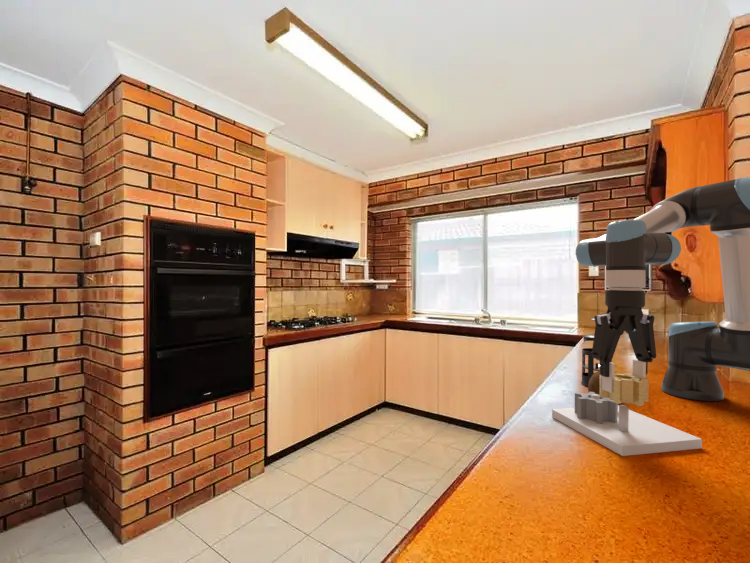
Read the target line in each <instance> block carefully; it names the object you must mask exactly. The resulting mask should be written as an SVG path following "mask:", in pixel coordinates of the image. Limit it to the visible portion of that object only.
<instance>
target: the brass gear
mask: <svg viewBox="0 0 750 563" xmlns="http://www.w3.org/2000/svg"><path fill="white" fill-rule="evenodd" d="M600 397H601V398H609V399H612V400H613V403H618V405H619V404H620V405H621V404H622V403H624V404H633V405H636V406H639V407H640V406H641V407H642V406H644V405H645V403H646V402H647V403H649V378H647V377H646V378H640V377H636V376H633V373H628V372H625V373H618V372H617V373H615V379H614V393H611V392H608V391H605V390H602V376H601V375H600Z"/></svg>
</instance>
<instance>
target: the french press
mask: <svg viewBox="0 0 750 563" xmlns="http://www.w3.org/2000/svg"><path fill="white" fill-rule="evenodd" d="M589 320H590V321H595V317H594V318H590V319H589ZM594 334H595V333H594ZM594 334H592V333H591V334H589V333H588V334H582V335H581V337H582V338H583V342H584V343H585V342H589V341H590V342H591V341H592V342H593V341H594ZM592 348H593V347H592ZM592 348H591V347H590V348H588V347H585V348H582V349H581V354H582V359H581V362H582V363H581V365H582V366H581V381H580V383H581V385H582V386H584V387H587V388H588V384H589V380H590V378H591V377H592V375H593V374H594V373H595V372H598V371H600V364H599V363H598V360H597V359H595V358H592ZM586 356H587V363H586ZM594 359H595V360H594ZM594 361H595V363H594ZM611 362H612V363H613V360H612V361H611ZM586 370H587V372H586Z"/></svg>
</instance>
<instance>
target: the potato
mask: <svg viewBox="0 0 750 563" xmlns="http://www.w3.org/2000/svg"><path fill="white" fill-rule="evenodd" d="M587 391H588V392H587V393H589V392H594V393H595V394H599V395H600V371H595V372H594V374H593V375H592V377H591V378H590V380H589V384H588V387H587Z"/></svg>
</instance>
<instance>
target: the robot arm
mask: <svg viewBox="0 0 750 563" xmlns="http://www.w3.org/2000/svg"><path fill="white" fill-rule="evenodd" d="M704 226H709V227H710V228H709V230H710V233H712V234H714V236H716V237H717V238H718V240H717V241H718V248H719V259H720V260H719V261H720V271H721V281H722V292H723V294H722V295H723V306H724V315H725V316H724V317H725V318H724V319H723V320H722V321H720V322H719V324H718V323H717V322H716V321H681V322H673V323H671V324H670V325H669V326H668V335H667V337H668V346H667V347H668V350H667V352H668V353H667V354H668V365H667V366H668V367H667V369H666V371H665V374H664V376H663V379H662V381H661V391H663V392H664V393H665V394H669V395H671V396H675V397H679V398H683V399H687V400H688V399H689V400H694V401H703V402H704V401H705V402H720V401H724V399H725V392H724V389H723V387H722V384H721V381H720V379H719V377H718V374H717V367H723V368H729V369H735V370H740V371H741V370H742V371H746V372H750V176H748V177H739V178H736V179H731V180H725V181H720V182H715V183H711V184H706V185H700V186H699V185H698V186H695V187H691V188H688V189H685V190H683V191H680V192H678V193H675V194H674V195H671V196H670V197H667V198H665V199H663V200H662V201H659V202H657V203H656V204H654V205H653V206H652V207H651V209H650V210H649V211H647V212H646V213H644V214H642V215H640V216H638V217H635V218H634V219H625V220H624V219H622V220H616V221H613V222H610V223H609V224H608V225H607V226H606V233H605V234H603V235H601V236H599V237H596V238H588V239H583V240H581V241H579V242H578V244H577V245H576V247H575V256H576V260H577V262H578V263H579V264H580V265H581V266H583V267H594V268H595V267H605V287H606V288H608V289H607V290H606V291H605V292H604V293H605V294H604V295H605V297H604V298H605V299H604V302H605V303H604V304H605V306H606V307H607V310H606V312H605V314H595V315H594V318H595V320H594V322H595V326H594V327H595V328H594V341H592V358H594V359H595V360H596V359H597V361H599V365H600V375H601V376H602V390H605V391H608V392H611V393H614V379H615V369H616V368H615V365H616V363H615V362H613V358H614V355H615V352H616V351H617V350H616V349H617V346H618V344H619V340H620V338H621V336H623V335H624V332H625V333H626V334H627V335H628V338H629V340H630V343H631V347H632V349H633V352H634V356H635V359H632V374H633V376H636V377H640V378H647V376H648V368H649V366H648V364H649V363H652V362H653V361H654V359H656V358H657V349H656V339H655V331H654V330H655V328H654V324H655V316H654V315H653V314H644V312H643V310H642V309H643V308H644V307H645V306H646V292H645V291H644V290H643V289H645V288H646V286H647V284H646V280H647V276H646V274H647V273H646V272H647V270H646V266H647V265H649V266H650V265H653V266H662V265H663V266H664V265H668V264H671V263H673V262H675V260H676V259H678V258H679V256H680V254H681V252H682V245H681V243H680V241H679V239H678V238H677V237H676V236H674V235H672V234H667V233H671V232H675V231H677V230H680V229H684V228H690V227H704ZM611 361H612V362H611Z"/></svg>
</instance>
